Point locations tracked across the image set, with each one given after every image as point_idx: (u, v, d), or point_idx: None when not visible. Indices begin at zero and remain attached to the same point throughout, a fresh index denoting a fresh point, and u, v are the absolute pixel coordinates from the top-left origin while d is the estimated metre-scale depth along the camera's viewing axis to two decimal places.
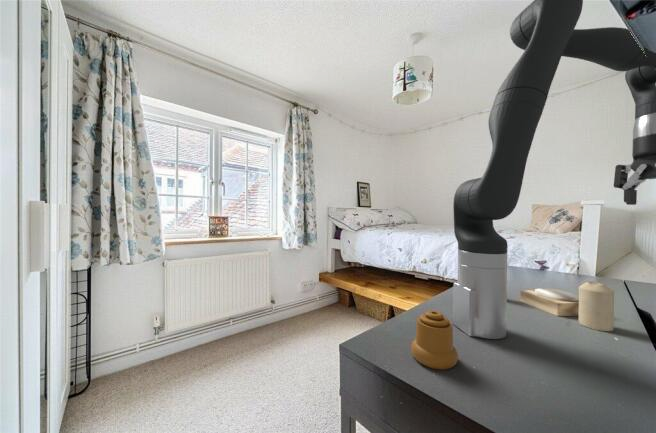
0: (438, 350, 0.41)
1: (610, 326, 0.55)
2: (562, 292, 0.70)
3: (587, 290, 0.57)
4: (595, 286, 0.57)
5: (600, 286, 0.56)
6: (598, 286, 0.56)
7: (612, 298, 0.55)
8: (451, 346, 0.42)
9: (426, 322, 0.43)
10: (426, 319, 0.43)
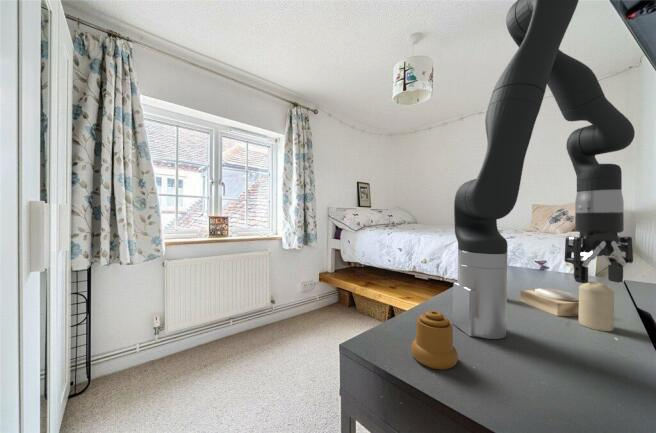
0: (438, 350, 0.41)
1: (610, 326, 0.55)
2: (562, 292, 0.70)
3: (587, 290, 0.57)
4: (595, 286, 0.57)
5: (600, 286, 0.56)
6: (598, 286, 0.56)
7: (612, 298, 0.55)
8: (451, 346, 0.42)
9: (426, 322, 0.43)
10: (426, 319, 0.43)
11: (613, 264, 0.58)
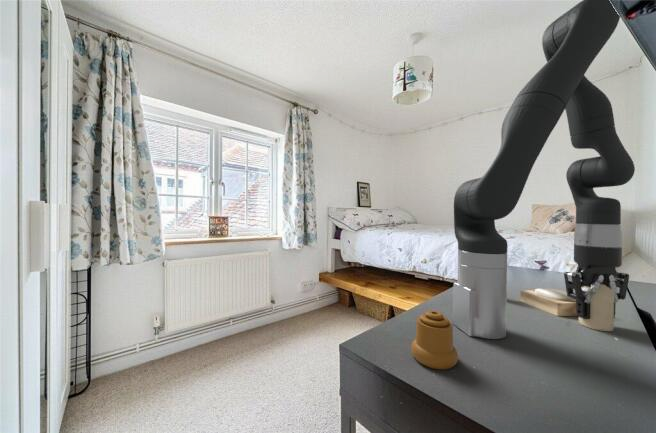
0: (438, 350, 0.41)
1: (610, 326, 0.55)
2: (562, 292, 0.70)
3: None
4: None
5: (600, 286, 0.56)
6: None
7: (612, 298, 0.55)
8: (451, 346, 0.42)
9: (426, 322, 0.43)
10: (426, 319, 0.43)
11: None
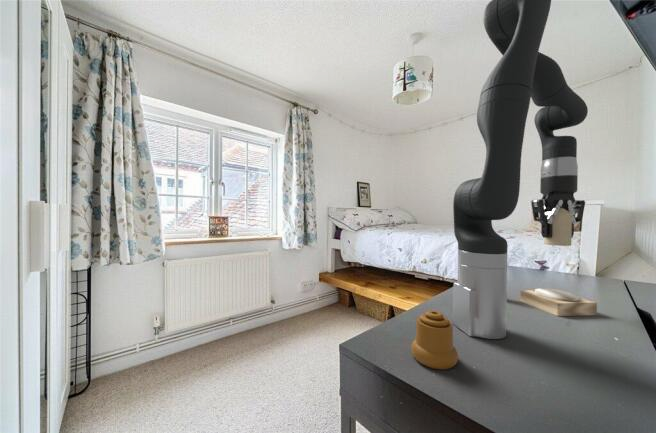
0: (438, 350, 0.41)
1: (568, 241, 0.67)
2: (562, 292, 0.70)
3: None
4: None
5: (560, 209, 0.68)
6: (559, 209, 0.68)
7: (570, 218, 0.67)
8: (451, 346, 0.42)
9: (426, 322, 0.43)
10: (426, 319, 0.43)
11: None
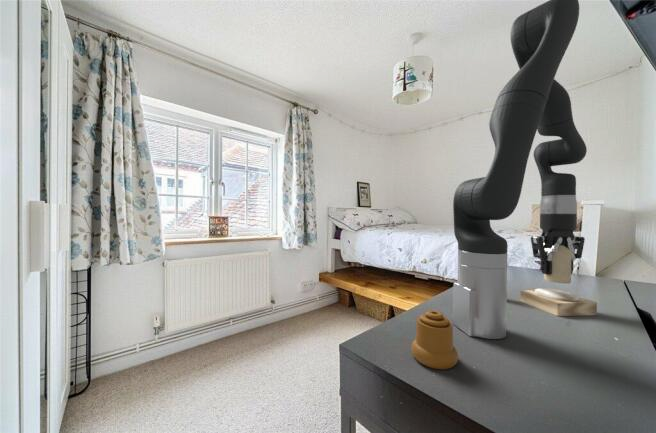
0: (438, 350, 0.41)
1: (567, 279, 0.67)
2: (562, 292, 0.70)
3: None
4: None
5: (560, 247, 0.68)
6: (558, 247, 0.68)
7: (569, 256, 0.67)
8: (451, 346, 0.42)
9: (426, 322, 0.43)
10: (426, 319, 0.43)
11: None
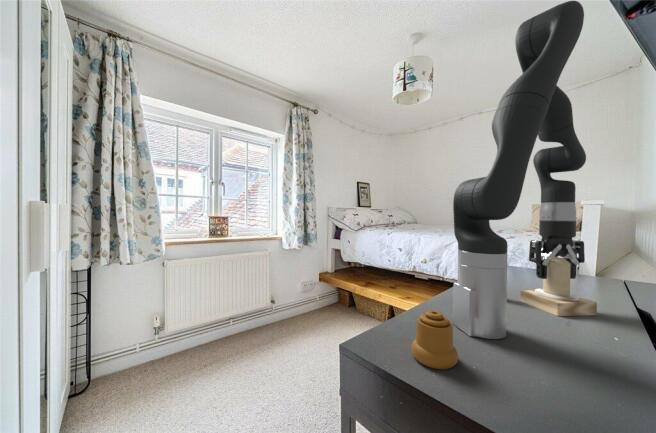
0: (438, 350, 0.41)
1: (567, 292, 0.67)
2: None
3: (549, 263, 0.69)
4: (555, 259, 0.68)
5: (559, 259, 0.68)
6: (557, 259, 0.68)
7: (568, 268, 0.67)
8: (451, 346, 0.42)
9: (426, 322, 0.43)
10: (426, 319, 0.43)
11: None
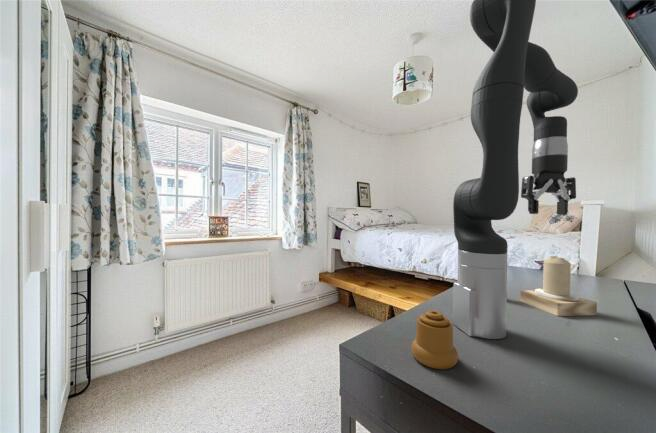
0: (438, 350, 0.41)
1: (567, 292, 0.67)
2: None
3: (549, 263, 0.69)
4: (555, 259, 0.68)
5: (559, 259, 0.68)
6: (558, 259, 0.68)
7: (568, 268, 0.67)
8: (451, 346, 0.42)
9: (426, 322, 0.43)
10: (426, 319, 0.43)
11: (560, 200, 0.71)
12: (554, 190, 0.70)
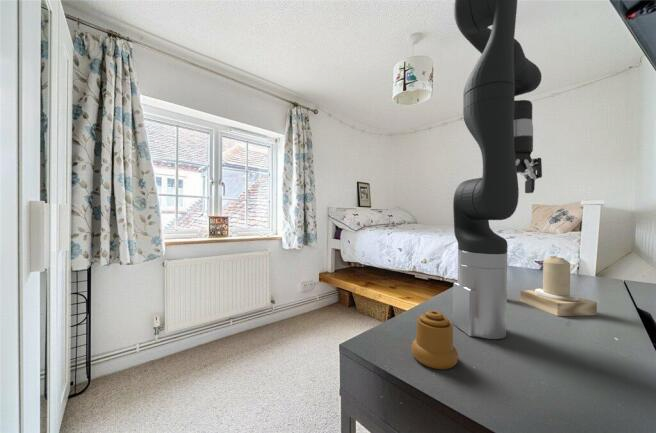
0: (439, 350, 0.41)
1: (567, 292, 0.67)
2: None
3: (549, 263, 0.69)
4: (555, 259, 0.68)
5: (559, 259, 0.68)
6: (557, 259, 0.68)
7: (568, 268, 0.67)
8: (451, 346, 0.42)
9: (426, 322, 0.43)
10: (426, 319, 0.43)
11: (528, 180, 0.76)
12: (521, 170, 0.74)
